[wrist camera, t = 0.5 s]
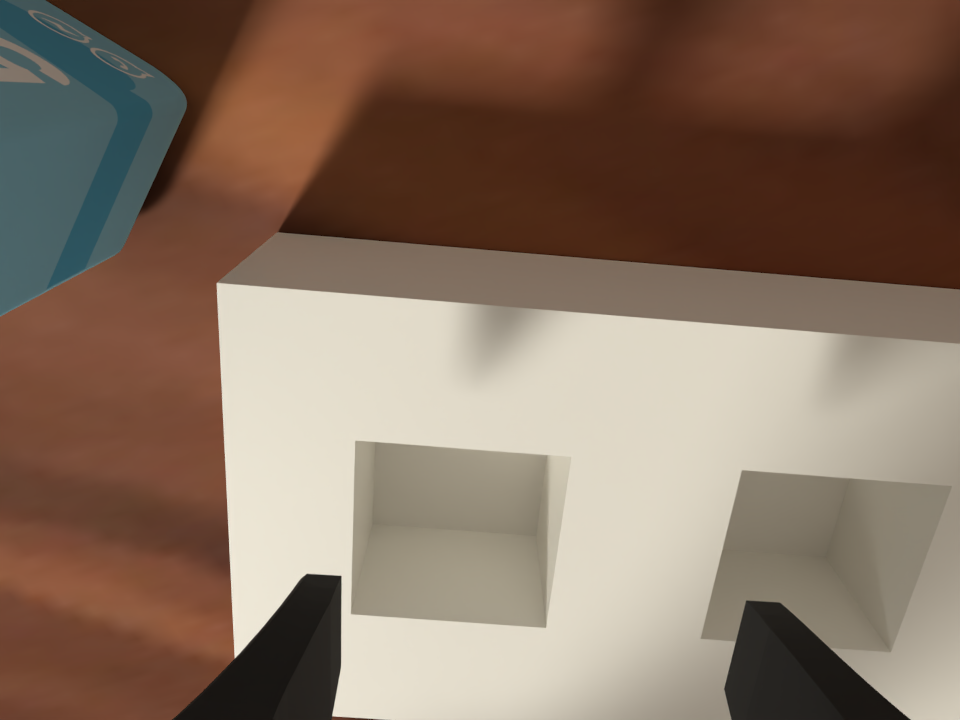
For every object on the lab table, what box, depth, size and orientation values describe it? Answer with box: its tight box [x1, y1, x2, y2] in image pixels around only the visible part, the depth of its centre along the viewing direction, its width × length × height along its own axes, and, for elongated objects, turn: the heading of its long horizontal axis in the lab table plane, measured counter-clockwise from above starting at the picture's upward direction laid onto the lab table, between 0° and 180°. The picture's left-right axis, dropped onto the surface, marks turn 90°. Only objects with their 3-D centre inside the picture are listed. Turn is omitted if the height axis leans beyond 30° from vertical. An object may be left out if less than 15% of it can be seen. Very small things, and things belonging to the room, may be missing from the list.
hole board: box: [217, 232, 960, 720], centre depth 21 cm, size 12×20×5 cm, turn 85°
